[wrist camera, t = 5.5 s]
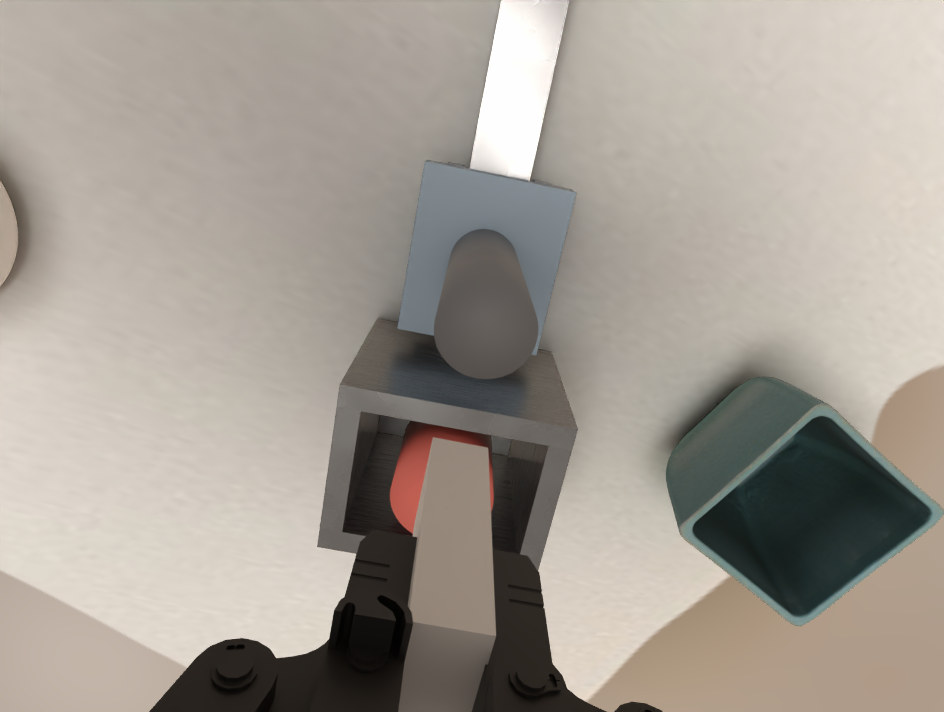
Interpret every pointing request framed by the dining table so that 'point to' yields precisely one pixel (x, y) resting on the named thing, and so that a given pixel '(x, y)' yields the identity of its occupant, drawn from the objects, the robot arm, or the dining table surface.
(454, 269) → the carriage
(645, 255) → the dining table surface
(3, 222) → the cup
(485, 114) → the rail
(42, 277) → the dining table surface
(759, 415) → the flower pot
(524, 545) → the open box
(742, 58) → the dining table surface
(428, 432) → the button
